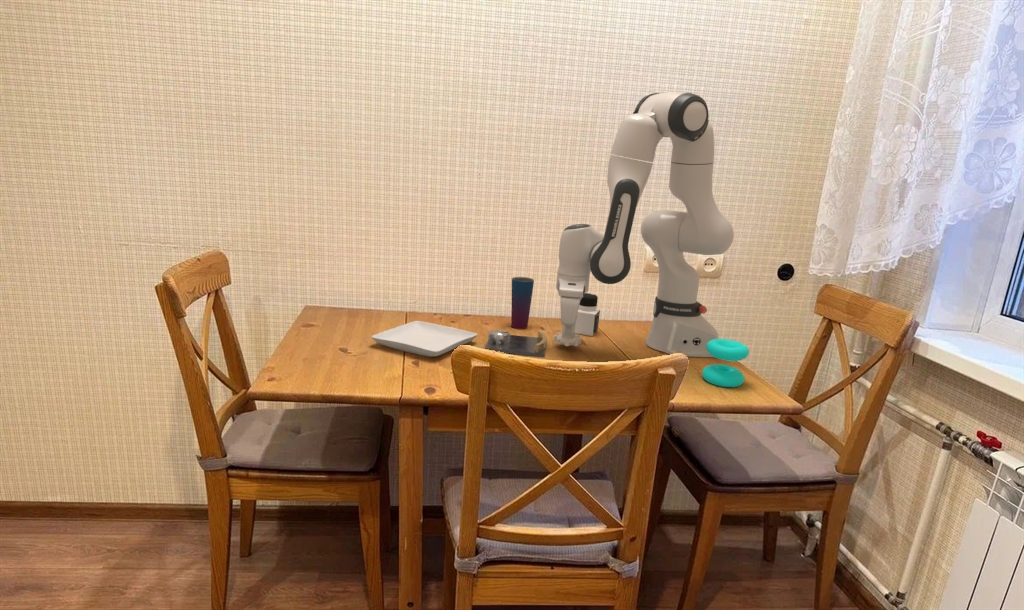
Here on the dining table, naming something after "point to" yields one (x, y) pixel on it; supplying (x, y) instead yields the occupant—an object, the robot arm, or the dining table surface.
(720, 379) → the donuts
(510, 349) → the carrier plate
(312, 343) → the dining table surface
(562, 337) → the planet gear
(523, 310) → the cup
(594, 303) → the medicine bottle
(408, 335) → the salad plate
